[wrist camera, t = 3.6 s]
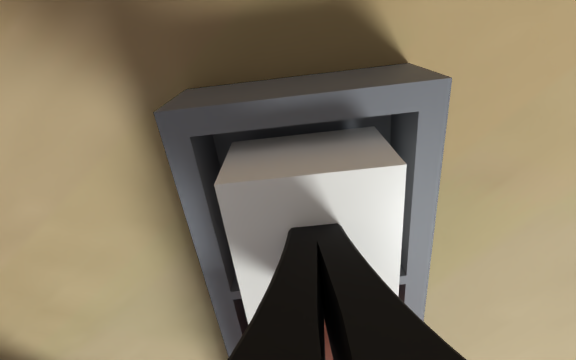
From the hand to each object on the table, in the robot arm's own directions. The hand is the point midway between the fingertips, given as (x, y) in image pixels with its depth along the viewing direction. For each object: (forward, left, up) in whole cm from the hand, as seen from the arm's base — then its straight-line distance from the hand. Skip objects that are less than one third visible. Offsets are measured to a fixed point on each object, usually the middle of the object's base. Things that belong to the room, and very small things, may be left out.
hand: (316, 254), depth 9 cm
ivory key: (0, 0, -3) cm, 3 cm away
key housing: (0, -6, -5) cm, 8 cm away
